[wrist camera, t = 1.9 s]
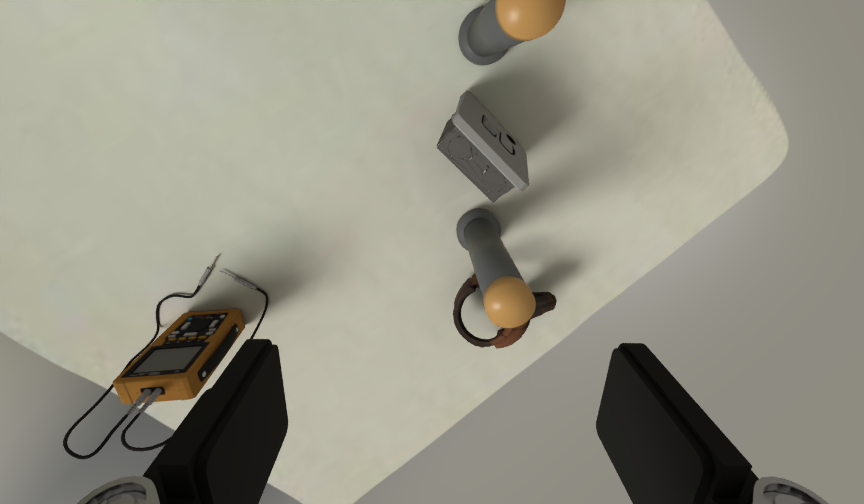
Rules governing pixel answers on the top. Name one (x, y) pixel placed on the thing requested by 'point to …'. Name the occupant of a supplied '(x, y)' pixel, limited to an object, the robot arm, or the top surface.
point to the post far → (495, 270)
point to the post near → (505, 27)
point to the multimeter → (175, 361)
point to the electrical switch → (483, 149)
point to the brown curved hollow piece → (504, 337)
